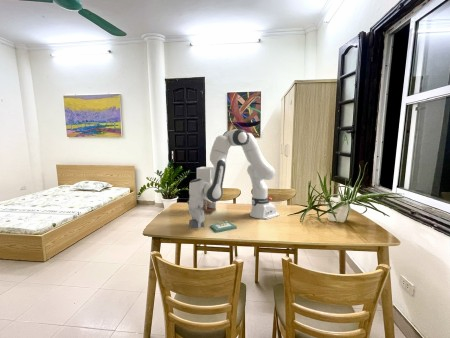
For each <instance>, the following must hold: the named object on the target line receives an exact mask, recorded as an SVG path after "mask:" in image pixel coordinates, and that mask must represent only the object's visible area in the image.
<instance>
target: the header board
mask: <svg viewBox="0 0 450 338" xmlns="http://www.w3.org/2000/svg"><path fill="white" fill-rule="evenodd" d="M225 223H226V221H224V226H223V222H221V226H220V222H219V223H213V224H210V225H209V227H210V228H211V229H212V230H213V231H214V232H215V233H222V232H226V231H231V230H236V229H238V228H237V227H238V226H237V225H235V224H233V222H231V221H227V225H225Z"/></svg>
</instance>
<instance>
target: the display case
mask: <svg viewBox="0 0 450 338" xmlns="http://www.w3.org/2000/svg"><path fill="white" fill-rule="evenodd" d="M214 173H215V169H214V166H213V167H212V166H200V167H196V179H202V180H203V181H205V182H208V183H211V184H212V183H213V178H214ZM202 209H203V210H204V215H210V216H211V215H212V214H214V213H215V212H216V211H217V202H212V201H210V200H209V199H208V198H206V197H204V198H203V207H202ZM213 212H214V213H213Z"/></svg>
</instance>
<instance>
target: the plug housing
mask: <svg viewBox="0 0 450 338" xmlns="http://www.w3.org/2000/svg"><path fill="white" fill-rule="evenodd" d="M188 222H189V224H188V225H189V228H190V229H191V230H196V229H200V228H205V227H204V223H205V221H204V222H202V223H201V227H200V228H198V226H197V224H198V221H197V220H196V219H192V218H191V219H189V221H188Z"/></svg>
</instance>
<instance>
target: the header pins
mask: <svg viewBox="0 0 450 338" xmlns="http://www.w3.org/2000/svg"><path fill="white" fill-rule="evenodd" d="M224 222H226V223H225V225H227V222H228V221H227V219H226V220H225V221H224V220H222V221H221V220H220V221H219V223H220V226H221V223H223V226H224Z"/></svg>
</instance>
